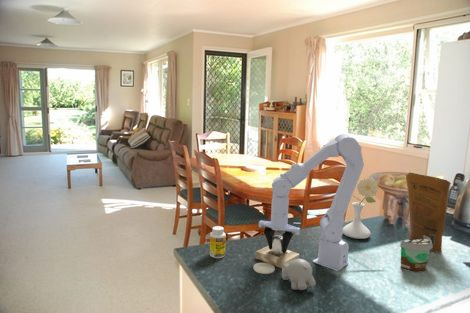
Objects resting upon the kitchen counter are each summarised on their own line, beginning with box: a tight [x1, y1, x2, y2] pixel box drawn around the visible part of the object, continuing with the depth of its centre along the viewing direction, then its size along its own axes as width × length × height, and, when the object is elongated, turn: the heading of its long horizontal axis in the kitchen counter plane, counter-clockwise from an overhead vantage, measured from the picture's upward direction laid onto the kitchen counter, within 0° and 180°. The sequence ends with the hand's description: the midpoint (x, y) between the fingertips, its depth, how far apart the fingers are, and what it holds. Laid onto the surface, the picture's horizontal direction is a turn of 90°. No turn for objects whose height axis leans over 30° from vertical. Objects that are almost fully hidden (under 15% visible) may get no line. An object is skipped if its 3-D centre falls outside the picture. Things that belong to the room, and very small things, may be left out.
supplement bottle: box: [209, 225, 227, 259], centre depth 129 cm, size 6×6×10 cm
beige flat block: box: [255, 245, 301, 269], centre depth 128 cm, size 12×9×2 cm
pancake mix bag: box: [405, 171, 452, 253], centre depth 142 cm, size 7×19×28 cm, turn 16°
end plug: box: [271, 234, 284, 257], centre depth 127 cm, size 4×4×8 cm
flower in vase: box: [343, 177, 380, 240], centre depth 149 cm, size 13×11×25 cm
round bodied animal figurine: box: [281, 258, 317, 291], centre depth 110 cm, size 7×12×8 cm, turn 30°
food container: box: [399, 235, 433, 273], centre depth 122 cm, size 12×6×10 cm, turn 117°
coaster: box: [253, 262, 276, 275], centre depth 121 cm, size 7×7×1 cm
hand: (277, 250), depth 127 cm, fingers closed on end plug, 4 cm apart
